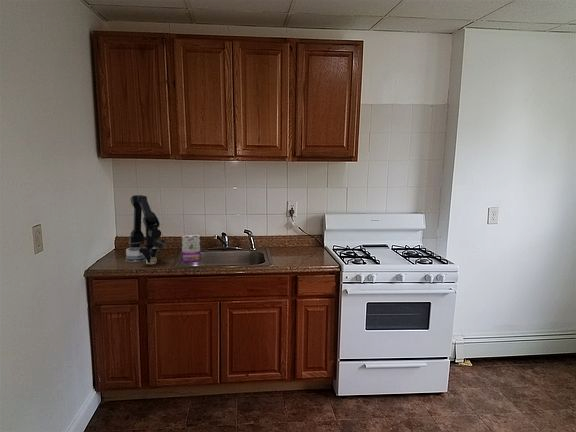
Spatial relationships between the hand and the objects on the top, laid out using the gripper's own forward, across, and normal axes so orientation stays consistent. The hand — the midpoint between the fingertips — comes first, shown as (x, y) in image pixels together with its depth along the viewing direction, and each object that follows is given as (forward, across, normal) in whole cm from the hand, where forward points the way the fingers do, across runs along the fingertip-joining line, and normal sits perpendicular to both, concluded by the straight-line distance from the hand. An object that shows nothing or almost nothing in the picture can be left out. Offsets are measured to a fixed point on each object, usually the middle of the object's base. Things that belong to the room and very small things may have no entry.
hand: (151, 261), depth 227 cm
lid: (+1, 0, 0) cm, 1 cm away
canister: (+1, +5, +12) cm, 13 cm away
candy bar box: (+1, +8, -22) cm, 23 cm away
